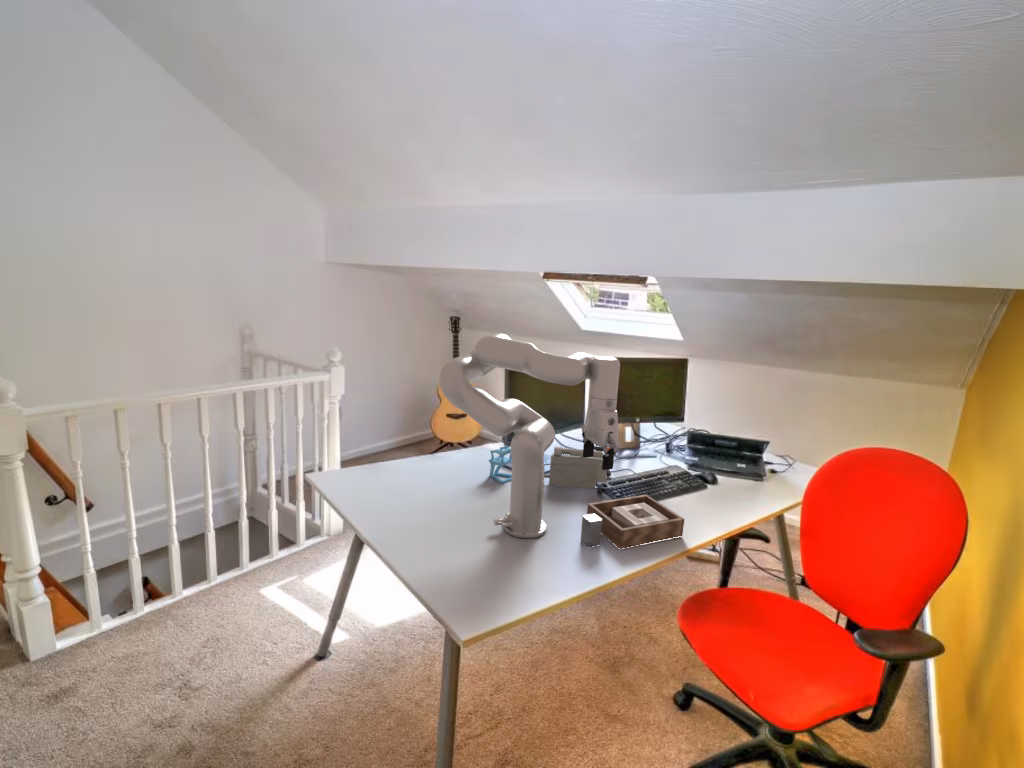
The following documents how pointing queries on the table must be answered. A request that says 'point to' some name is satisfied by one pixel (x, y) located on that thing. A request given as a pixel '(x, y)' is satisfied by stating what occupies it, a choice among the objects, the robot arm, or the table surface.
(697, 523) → the table surface
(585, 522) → the metal peg
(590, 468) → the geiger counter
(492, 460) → the chair
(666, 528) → the walnut box
